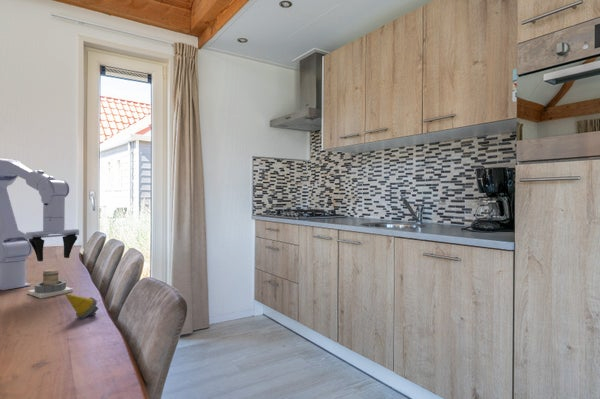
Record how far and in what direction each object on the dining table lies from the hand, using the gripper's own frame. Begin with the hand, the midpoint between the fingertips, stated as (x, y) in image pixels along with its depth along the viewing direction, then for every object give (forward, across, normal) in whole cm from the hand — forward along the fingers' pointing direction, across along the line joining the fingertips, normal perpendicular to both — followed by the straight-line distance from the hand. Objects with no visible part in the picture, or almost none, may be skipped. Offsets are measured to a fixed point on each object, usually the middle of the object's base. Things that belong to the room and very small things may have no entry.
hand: (53, 259), depth 116 cm
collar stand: (+10, -1, -1) cm, 10 cm away
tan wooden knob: (+9, -1, -1) cm, 9 cm away
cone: (+10, -7, -34) cm, 37 cm away
